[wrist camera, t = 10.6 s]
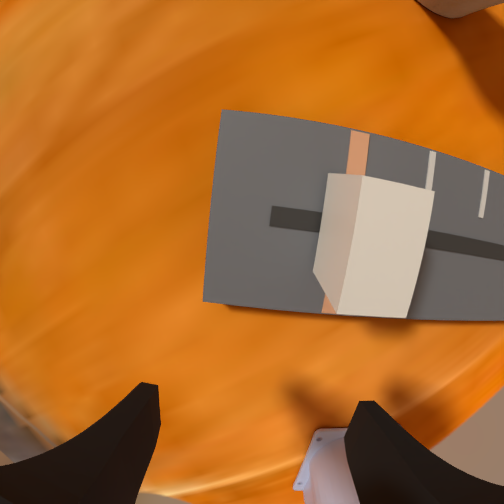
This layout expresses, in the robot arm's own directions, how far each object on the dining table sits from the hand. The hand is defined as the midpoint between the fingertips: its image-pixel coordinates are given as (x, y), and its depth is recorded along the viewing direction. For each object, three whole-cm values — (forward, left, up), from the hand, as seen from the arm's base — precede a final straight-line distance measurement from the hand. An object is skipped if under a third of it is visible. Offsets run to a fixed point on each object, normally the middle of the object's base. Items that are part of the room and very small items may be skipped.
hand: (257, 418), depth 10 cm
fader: (+6, -4, -7) cm, 10 cm away
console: (+6, -10, -9) cm, 15 cm away
